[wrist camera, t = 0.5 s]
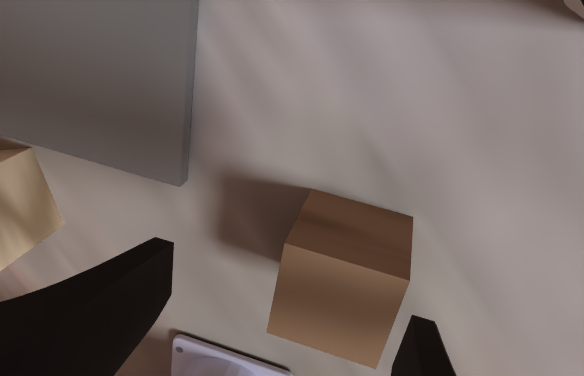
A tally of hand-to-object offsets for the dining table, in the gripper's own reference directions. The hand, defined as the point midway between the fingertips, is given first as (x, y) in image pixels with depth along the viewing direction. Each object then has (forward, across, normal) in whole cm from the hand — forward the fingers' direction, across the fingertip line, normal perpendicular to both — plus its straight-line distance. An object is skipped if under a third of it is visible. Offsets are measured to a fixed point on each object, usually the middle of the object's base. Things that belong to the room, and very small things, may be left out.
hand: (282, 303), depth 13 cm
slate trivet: (+9, +14, -4) cm, 18 cm away
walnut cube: (+10, -1, +4) cm, 10 cm away
